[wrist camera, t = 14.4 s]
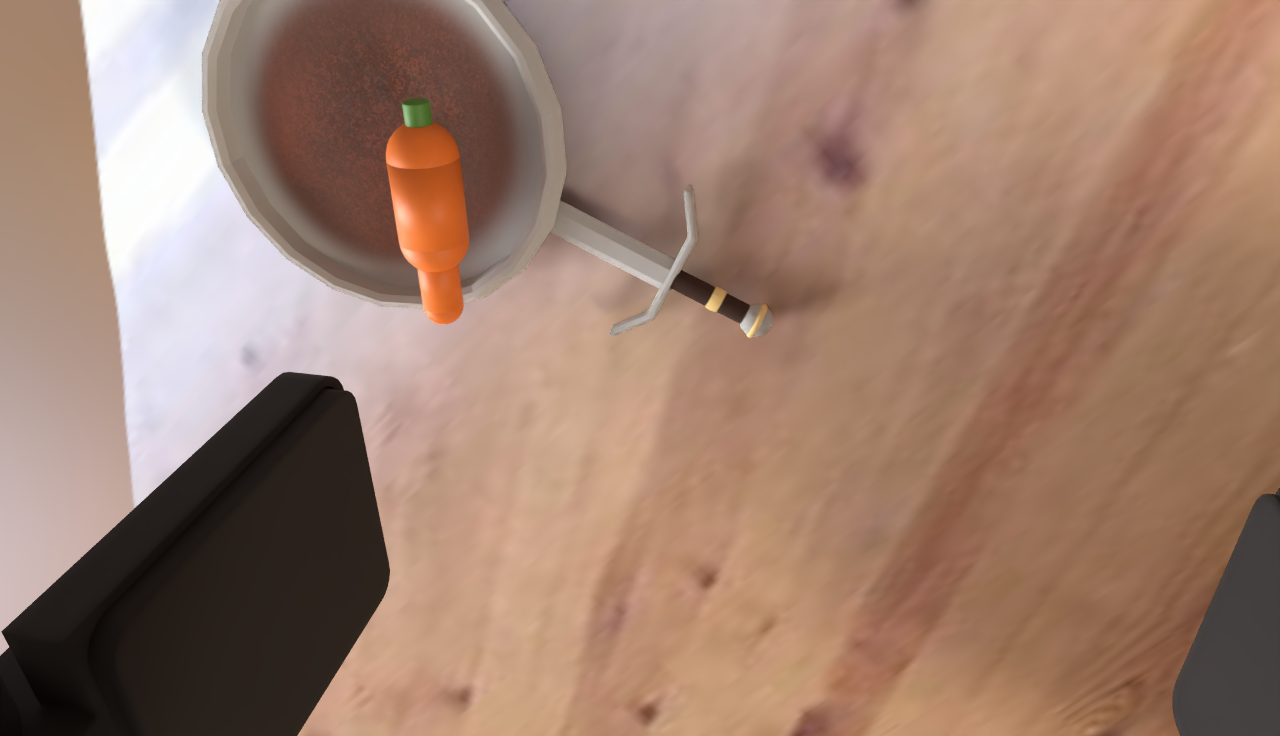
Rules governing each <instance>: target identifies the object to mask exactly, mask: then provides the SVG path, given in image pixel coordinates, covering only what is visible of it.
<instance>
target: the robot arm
mask: <svg viewBox="0 0 1280 736" xmlns="http://www.w3.org/2000/svg"><path fill="white" fill-rule="evenodd" d="M389 575H390V568H389V561H388V557H387V552H386V547H385V542H384V537H383V532H382V527H381V522H380V517H379V512H378V507H377V502H376V497H375V492H374V487H373V482H372V477H371V472H370V467H369V462H368V457H367V452H366V447H365V442H364V437H363V432H362V427H361V422H360V417H359V412H358V407H357V403H356V400H355V397H354V396H353V394H352V393H351V392H349V391H344V389H343V386H342V384H341V383H340V382H339V380H338V379H336V378H334V377H331V376H322V375H313V374H303V373H294V372H286V373H282V374H281V375H279V376H278V377H276V378H275V379H274V380H273V381H272V382H271V383H270V384H269V385H268V386H267V387H265V388H264V389H263V390H262V391H261V392H260V393H259V394H258V395H257V396H256V397H255V398H254V399H252V400H251V401H250V402H249V403H248V404H247V405H246V406H245V407H244V408H243V409H242V410H241V411H240V412H238V413H237V414H236V415H235V416H234V417H233V418H232V419H231V420H230V421H229V422H228V423H227V424H225V425H224V426H223V427H222V428H221V429H220V430H219V431H218V432H217V433H216V434H215V435H214V436H212V437H211V438H210V439H209V440H208V441H207V442H206V443H205V444H204V445H203V446H202V447H201V448H200V449H198V450H197V451H196V452H195V453H194V454H193V455H192V456H191V457H190V458H189V459H188V460H187V461H185V462H184V463H183V464H182V465H181V466H180V467H179V468H178V469H177V470H176V471H175V472H174V473H172V474H171V475H170V476H169V477H168V478H167V479H166V480H165V481H164V482H163V483H162V484H161V485H160V486H158V487H157V488H156V489H155V490H154V491H153V492H152V493H151V494H150V495H149V496H148V497H147V498H145V499H144V500H143V501H142V502H141V503H140V504H139V505H138V506H137V507H136V508H135V509H134V510H132V512H130V513H129V514H128V515H127V516H126V517H125V518H124V519H123V520H122V521H121V522H120V523H118V524H117V525H116V526H115V527H114V528H113V529H112V530H111V531H110V532H109V533H108V534H107V535H105V536H104V537H103V538H102V539H101V540H100V541H99V542H98V543H97V544H96V545H95V546H94V547H92V548H91V549H90V550H89V551H88V552H87V553H86V554H85V555H84V556H83V557H82V558H81V559H80V560H79V561H77V562H76V563H75V564H74V565H73V566H72V567H71V568H70V569H69V570H68V571H67V572H65V573H64V574H63V575H62V576H61V577H60V578H59V579H58V580H57V581H56V582H55V583H54V584H52V585H51V586H50V587H49V588H48V589H47V590H46V591H45V592H44V593H43V594H42V595H41V596H39V597H38V598H37V599H36V600H35V601H34V602H33V603H32V604H31V605H30V606H29V607H28V608H27V609H25V610H24V611H23V612H22V613H21V614H20V615H19V616H18V617H17V618H16V619H15V620H14V621H12V622H11V623H10V624H9V625H8V626H7V627H6V628H5V629H4V630H3V631H2V634H3V635H4V637H5V639H6V641H7V643H8V645H9V648H8V649H7V650H6V651H5V652H4V653H3V654H2V655H1V656H0V736H297V735H298V734H299V732H300V730H301V729H302V727H303V726H304V724H305V722H306V721H307V719H308V718H309V716H310V714H311V713H312V711H313V710H314V708H315V706H316V705H317V703H318V702H319V700H320V698H321V697H322V695H323V694H324V692H325V690H326V689H327V687H328V686H329V684H330V682H331V681H332V679H333V678H334V676H335V674H336V673H337V671H338V670H339V668H340V666H341V665H342V663H343V662H344V660H345V658H346V657H347V655H348V654H349V652H350V650H351V649H352V647H353V646H354V644H355V642H356V641H357V639H358V638H359V636H360V634H361V633H362V631H363V630H364V628H365V626H366V625H367V623H368V622H369V620H370V618H371V617H372V615H373V614H374V612H375V610H376V609H377V607H378V606H379V604H380V602H381V601H382V599H383V597H384V595H385V593H386V590H387V587H388V582H389ZM1173 712H1174V718H1175V721H1176V725H1177V728H1178V730H1179V733H1180V736H1280V488H1279V489H1278V491H1277V492H1276V494H1264V495H1262V496H1260V497H1259V498H1258V499H1257V500H1256V502H1255V504H1254V506H1253V508H1252V510H1251V512H1250V514H1249V517H1248V519H1247V521H1246V524H1245V526H1244V528H1243V530H1242V533H1241V535H1240V537H1239V539H1238V542H1237V544H1236V546H1235V549H1234V551H1233V553H1232V555H1231V558H1230V560H1229V562H1228V565H1227V567H1226V569H1225V571H1224V574H1223V576H1222V578H1221V581H1220V583H1219V585H1218V587H1217V590H1216V592H1215V594H1214V597H1213V599H1212V601H1211V603H1210V606H1209V608H1208V610H1207V612H1206V615H1205V617H1204V619H1203V622H1202V624H1201V626H1200V628H1199V631H1198V633H1197V635H1196V638H1195V640H1194V642H1193V644H1192V647H1191V649H1190V651H1189V654H1188V656H1187V658H1186V660H1185V663H1184V665H1183V667H1182V669H1181V672H1180V674H1179V676H1178V679H1177V681H1176V684H1175V687H1174V692H1173Z"/></svg>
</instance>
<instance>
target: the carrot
mask: <svg viewBox="0 0 1280 736" xmlns="http://www.w3.org/2000/svg"><path fill="white" fill-rule="evenodd" d="M402 108H403V115H404V122H405V124H404V125H402V126H400V127H399V128H398V129H397V130H396V131H395V132H394V133H393V134H392V136H391V137H390V139H389V141H388V144H387V148H386V163H387V170H388V176H389V182H390V189H391V195H392V201H393V208H394V214H395V220H396V227H397V233H398V239H399V244H400V248H401V251H402V253H403V255H404V256H405V258H406V259H407V260H408V262H409V263H411V264H412V265H413V266H414V267H416V268H417V270H418V277H419V283H420V290H421V297H422V303H423V309H424V312H425V314H426V316H427V317H428V318H429V319H430V320H432V321H433V322H435V323H438V324H449V323H452V322H454V321H455V320H456V319H458V318H459V316H460V315H461V313H462V310H463V296H462V288H461V279H460V271H459V263H460V262H461V261H462V260H463V258H464V257H465V255H466V253H467V250H468V246H469V230H468V221H467V213H466V204H465V195H464V186H463V178H462V169H461V160H460V153H459V149H458V145H457V143H456V141H455V139H454V138H453V136H452V135H451V134H450V133H449V132H448V131H447V130H446V129H445V128H444V127H442V126H441V125H439V124H437V123H434V122H432V115H431V107H430V101H429V100H428V99H424V98H413V99H407V100H405V101H403V102H402Z"/></svg>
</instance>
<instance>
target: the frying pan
mask: <svg viewBox="0 0 1280 736" xmlns="http://www.w3.org/2000/svg"><path fill="white" fill-rule="evenodd" d="M413 98H424V99H428V100H429V101H430V107H431V115H432V122H434V123H437V124H439V125H441V126H442V127H444V128H445V129H446V130H447V131H448V132H449V133H450V134H451V135H452V136H453V138H454V139H455V141H456V143H457V145H458V149H459V153H460V160H461V169H462V178H463V186H464V195H465V204H466V213H467V221H468V230H469V246H468V250H467V253H466V255H465V257H464V258H463V260H462V261H461V262H460V263H459V271H460V279H461V288H462V296H463V303H465V302H469V301H473V300H476V299H480V298H484V297H486V296H488V295H489V294H491V293H492V292H494V291H495V290H496V289H498V288H499V287H501V286H502V285H503V284H505V283H506V282H508V281H509V280H510V279H512V278H513V277H515V276H516V275H518V274H519V273H520V272H522V271H523V270H525V269H526V267H527V266H528V264H529V263H530V261H531V260H532V258H533V257H534V255H535V254H536V252H537V251H538V249H539V248H540V246H541V245H542V243H543V242H544V240H545V239H546V237H547V236H548V234H549V233H552V234H554V235H556V236H558V237H560V238H561V239H563V240H565V241H567V242H569V243H571V244H573V245H575V246H577V247H579V248H581V249H583V250H585V251H587V252H589V253H591V254H593V255H595V256H596V257H598V258H600V259H602V260H604V261H606V262H608V263H610V264H612V265H614V266H616V267H618V268H620V269H622V270H624V271H626V272H628V273H630V274H631V275H633V276H635V277H637V278H639V279H641V280H643V281H645V282H647V283H649V284H651V285H653V286H655V287H657V288H659V291H658V293H657V295H656V297H655V298H654V300H653V302H652V304H651V306H650V308H649V310H647V311H645V312H642V313H640V314H637V315H635V316H633V317H630V318H628V319H625V320H623V321H621V322H618V323H616V324H614V325H613V327H612V329H611V332H610V335H611V336H614V335H618V334H620V333H623V332H625V331H628V330H630V329H632V328H635V327H637V326H640V325H642V324H645V323H647V322H650V321H652V320H654V319H655V317H656V315H657V314H658V312H659V310H660V308H661V306H662V304H663V302H664V301H665V299H666V297H667V295H668V293H669V291H670V290H671V288H672V289H674V290H676V291H678V292H680V293H682V294H684V295H685V296H687V297H689V298H691V299H693V300H695V301H697V302H699V303H701V304H703V305H705V307H706V308H707V309H709V310H710V311H713V312H718V313H720V314H722V315H724V316H726V317H728V318H730V319H732V320H734V321H736V322H738V323H740V325H741V328H742V330H743V331H744V332H745V333H746V335H747V337H749V338H750V337H760V336H763V335H765V334H767V333H768V332H769V331H770V329H771V328H772V325H773V315H772V313H771V311H770V310H769V309H768V306H767V305H766V304H762V305H761V304H752V305H748V304H746V303H745V302H743V301H741V300H739V299H737V298H735V297H733V296H731V295H729V294H727V292H726V291H725V290H723V289H722V288H720V287H714V286H712V285H710V284H708V283H706V282H704V281H702V280H700V279H698V278H696V277H694V276H692V275H690V274H688V273H686V272H684V271H683V270H681V269H682V267H683V266H684V264H685V262H686V260H687V258H688V256H689V255H690V253H691V251H692V249H693V247H694V245H695V244H696V241H697V239H698V235H699V234H698V224H697V215H696V206H695V196H694V189H693V187H692V185H690V184H689V185H688V186H687V187H686V188H685V190H684V192H683V195H684V204H685V213H686V222H687V231H688V237H687V239H686V240H685V242H684V244H683V246H682V248H681V250H680V252H679V254H678V255H677V257H676V259H673V258H671V257H669V256H667V255H665V254H663V253H661V252H660V251H658V250H656V249H654V248H652V247H650V246H648V245H646V244H644V243H642V242H640V241H638V240H636V239H634V238H632V237H631V236H629V235H627V234H625V233H623V232H621V231H619V230H617V229H615V228H613V227H611V226H609V225H607V224H605V223H603V222H602V221H600V220H598V219H596V218H594V217H592V216H590V215H588V214H586V213H584V212H582V211H580V210H578V209H576V208H574V207H573V206H571V205H569V204H567V203H565V202H563V201H561V200H560V198H561V194H562V190H563V186H564V181H565V177H566V173H567V167H566V156H565V145H564V134H563V123H562V112H561V107H560V105H559V102H558V100H557V97H556V94H555V92H554V89H553V87H552V84H551V82H550V79H549V77H548V74H547V71H546V69H545V66H544V64H543V61H542V59H541V56H540V54H539V51H538V49H537V46H536V44H535V43H534V42H533V40H532V39H531V38H530V37H529V35H528V34H527V33H526V31H525V30H524V29H523V27H522V26H521V25H520V23H519V22H518V21H517V19H516V18H515V17H514V16H513V14H512V13H511V12H510V10H509V9H508V8H507V6H506V5H505V4H504V2H503V1H502V0H220V2H219V5H218V8H217V11H216V14H215V17H214V20H213V22H212V25H211V28H210V31H209V34H208V37H207V40H206V43H205V46H204V49H203V53H202V112H203V115H204V119H205V122H206V126H207V129H208V133H209V136H210V140H211V143H212V147H213V150H214V154H215V157H216V161H217V164H218V167H219V169H220V171H221V172H222V174H223V176H224V178H225V179H226V181H227V183H228V184H229V186H230V188H231V190H232V191H233V193H234V195H235V197H236V198H237V200H238V202H239V204H240V205H241V207H242V209H243V211H244V212H245V214H246V216H247V217H248V218H249V219H250V220H251V221H252V223H253V224H254V225H255V226H256V227H257V228H258V229H259V230H260V231H261V232H262V233H263V234H264V235H265V236H266V238H267V239H268V240H269V241H270V242H271V243H272V244H273V245H274V246H275V247H276V248H277V249H278V250H279V251H280V252H281V254H282V255H283V256H284V257H285V258H286V259H288V260H289V261H291V262H292V263H294V264H295V265H297V266H298V267H300V268H301V269H303V270H304V271H306V272H307V273H309V274H310V275H312V276H313V277H315V278H316V279H318V280H319V281H321V282H322V283H324V284H325V285H327V286H328V287H330V288H331V289H333V290H336V291H339V292H342V293H345V294H348V295H350V296H353V297H356V298H359V299H362V300H365V301H367V302H370V303H373V304H376V305H379V306H385V307H402V308H419V309H423V303H422V297H421V290H420V283H419V277H418V270H417V268H416V267H414V266H413V265H412V264H411V263H409V262H408V260H407V259H406V258H405V256H404V255H403V253H402V251H401V248H400V244H399V239H398V233H397V227H396V220H395V214H394V208H393V201H392V195H391V189H390V182H389V176H388V170H387V163H386V148H387V144H388V141H389V139H390V137H391V136H392V134H393V133H394V132H395V131H396V130H397V129H398V128H399V127H400V126H402V125H404V124H405V122H404V115H403V108H402V102H403V101H405V100H407V99H413Z"/></svg>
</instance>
